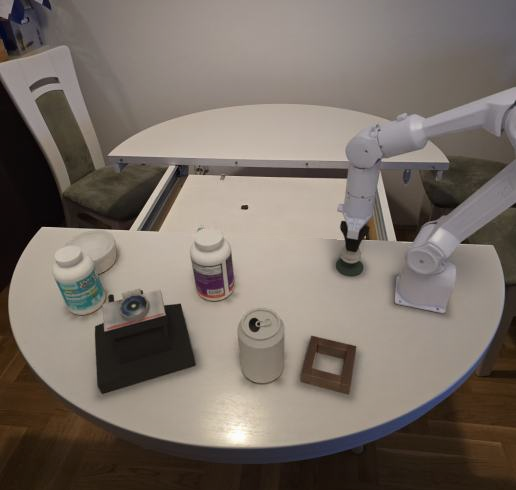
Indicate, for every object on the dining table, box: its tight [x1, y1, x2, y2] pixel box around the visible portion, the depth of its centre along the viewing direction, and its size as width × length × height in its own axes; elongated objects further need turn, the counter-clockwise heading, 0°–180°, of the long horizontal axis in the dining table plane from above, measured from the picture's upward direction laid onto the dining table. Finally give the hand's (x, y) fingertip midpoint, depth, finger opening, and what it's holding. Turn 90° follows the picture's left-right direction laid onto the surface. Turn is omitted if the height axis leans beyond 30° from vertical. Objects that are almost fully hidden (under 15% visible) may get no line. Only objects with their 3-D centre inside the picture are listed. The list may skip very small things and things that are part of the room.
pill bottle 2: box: [189, 226, 236, 302], centre depth 81 cm, size 8×8×14 cm
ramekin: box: [64, 229, 117, 275], centre depth 91 cm, size 11×11×5 cm
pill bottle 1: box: [51, 246, 106, 316], centre depth 79 cm, size 8×7×14 cm
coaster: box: [335, 257, 364, 277], centre depth 89 cm, size 6×6×1 cm
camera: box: [94, 288, 197, 395], centre depth 70 cm, size 16×14×15 cm
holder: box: [300, 335, 357, 395], centre depth 69 cm, size 8×8×2 cm
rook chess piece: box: [339, 245, 362, 263], centre depth 85 cm, size 4×4×8 cm
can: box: [237, 307, 285, 384], centre depth 66 cm, size 8×8×12 cm
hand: (352, 244), depth 85 cm, fingers closed on rook chess piece, 3 cm apart
